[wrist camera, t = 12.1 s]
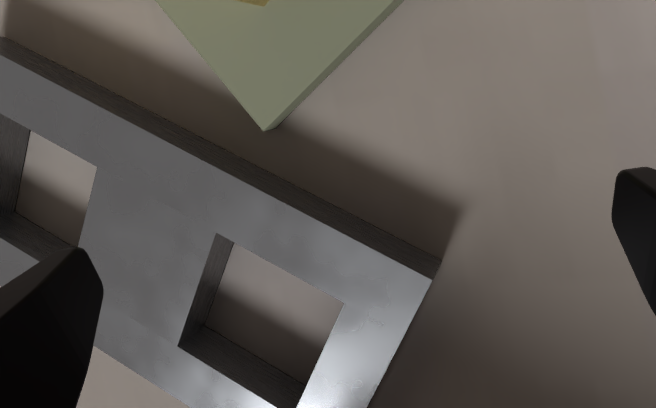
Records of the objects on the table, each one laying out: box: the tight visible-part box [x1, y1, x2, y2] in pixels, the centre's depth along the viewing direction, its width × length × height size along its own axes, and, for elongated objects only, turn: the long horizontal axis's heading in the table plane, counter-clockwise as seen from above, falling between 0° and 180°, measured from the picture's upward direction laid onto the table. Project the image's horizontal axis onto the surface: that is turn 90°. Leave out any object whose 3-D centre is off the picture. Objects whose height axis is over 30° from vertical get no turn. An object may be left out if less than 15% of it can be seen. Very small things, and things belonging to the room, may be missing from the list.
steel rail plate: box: [0, 37, 442, 408], centre depth 23 cm, size 21×10×2 cm, turn 68°
